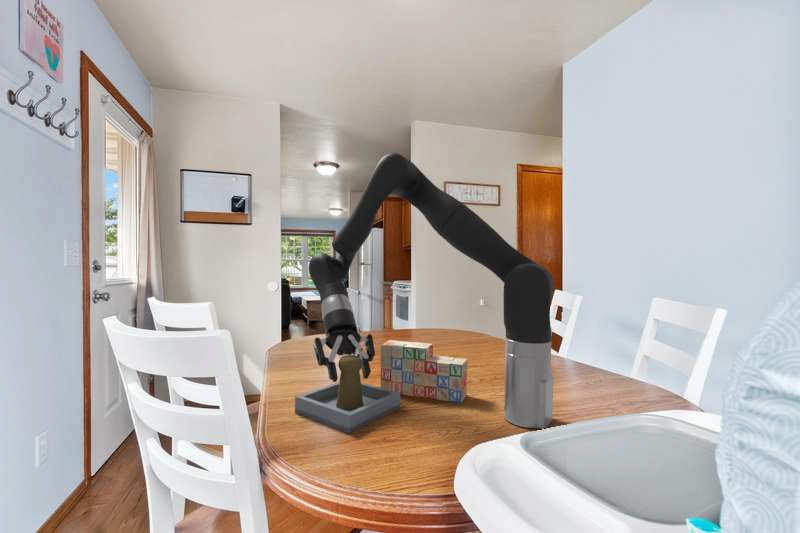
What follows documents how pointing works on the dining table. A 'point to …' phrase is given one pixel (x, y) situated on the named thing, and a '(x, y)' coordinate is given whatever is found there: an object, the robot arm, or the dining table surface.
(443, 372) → the stack of blocks
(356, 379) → the cork
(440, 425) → the dining table surface
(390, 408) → the tray
